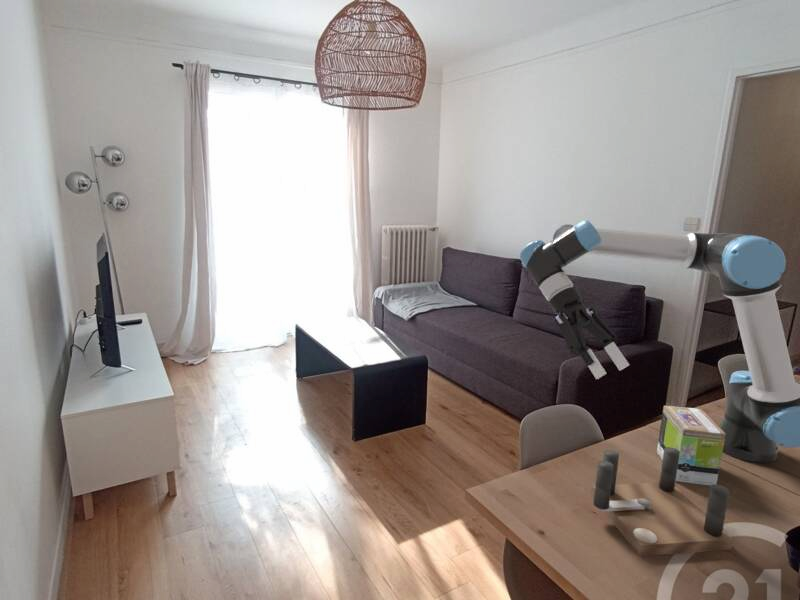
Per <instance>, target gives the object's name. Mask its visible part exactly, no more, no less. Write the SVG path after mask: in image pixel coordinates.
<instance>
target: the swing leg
mask: <svg viewBox="0 0 800 600" xmlns="http://www.w3.org/2000/svg"><path fill="white" fill-rule="evenodd" d="M596 466H597V467H596V476H595V485H594V486H595V494H594V498H593V506H595V508H597V509H598V510H600V512H601V513H602V512H604V513H605V511H622V510H639V509H642V510H649V509H651V505H650V502H649V501H648V500H646V499H644V498H639V499H635V500H617V501H610V494H611V486H612V477H613V468H614V465H613V464H612V463H610V462H608V461H603V460H599V461H598V462H597V465H596Z"/></svg>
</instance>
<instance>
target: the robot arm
mask: <svg viewBox="0 0 800 600" xmlns="http://www.w3.org/2000/svg"><path fill="white" fill-rule="evenodd" d="M519 253H520V254H519V259H520V261H521V263H522V264H523V266H524V267H525V269H526V271H527V272H528V274H529V276H530V278H531V279H532V280H533V281H534V283H535V284H536V286H537V288H539V290H540V291H541V293H542V295H543V296H544V298H545V299H546V301H547V302H548V304H549V306H550V307H551V309H552V311H553V312H554V314H556V315H557V316H555V317H554V318H553V320H554V322H555V324H556V325H557V326H558V329H559V331H560V332H561V335H562V337H563V339H564V341H565V343H566V345H567V348H568V350H569V352H570V353H571V354H573V355H574V356H575V357H578V356H580V357H581V359H582V361H583V362H584V364H585V365H586V366H587V368H589V370H590V372H591V374H592V375H593V376H594V378H595V380H599V379H600V378H602V377H603V376H605V375H606V374H607V372H606V370H605V368H604V367H603V366H602V364H601V363H600V361H599V359H598V357H597V356H596V355H595V353H594V352H593V350H592V349H591V348H588V347H587V344H586V343H587V342H586V340H585V336H584V333H583V330H587V332H588V333H591V335H592V336H594V337H595V338H596V339H597V340H598V341H599V342H600V343H602V345H604V347H603V348H604V350H605V352H606V354H608V356H609V358H610V359H611V360H612V362H613V363H614V365H615V366H616V367H617V369H618V371H622V370H624V369H625V368H627V367H630V363H629V362H628V360H627V359H626V357H625V356H624V354H623V353H622V351H621V350H620V348H619V346H618V345H617V344H616V343H615V342H616V341H617V340H618V336H617V335H616V333H615V332H614V331H613V330H612V328H610V326H609V325H608V324H607V323H606V322H605V320H603V319H602V318H601V316H600V315H599V314H598V313H597V312H596V310H595V307H593V306H590V307H588V308H586V307H585V306H583V305H582V301H583V297H582V295H581V294H580V292H579V291H578V290H577V288H576V287H574V283H573V282H572V280H571V278H569V276H568V275H567V274H566V272H565V271H564V270H563V268H565V267H566V266H568V265H569V264H571V263H572V262H574V261H576V260H577V259H579V258H581V257H583V256H584V255H593V256H605V257H614V258H622V259H630V260H641V261H642V260H644V261H652V262H661V263H671V264H679V265H680V266H681V267H682V268H683V269H684V268H685V269H692V270H698V271H701V272H705V273H708V274H711V275H713V276H715V277H718V279H719V283H720V287H721V291H722V295H723V297H724V296H725V298H728V299H730V300H731V301H732V306H733V309H734V313H735V318H736V321H737V326H738V331H739V334H740V339H741V342H742V347H743V351H744V354H745V358H746V363H747V368H748V370H738V371H737V370H736V371H734V372H732V373H731V375H730V379H729V382H728V389H727V390H728V391H727V396H726V403H725V409H724V414H723V415H724V416H723V418H722V421H721V422H720V424H719V425H718V426H719V427H720V428H721V430H723V432H724V433H725V441H724V446H723V451H722V453H725V454H727V455H729V456H731V457H734V458H737V459H740V460H744V461H747V462H752V463H753V462H754V463H773V462H774V461H776V460H777V457H778V454H779V448H778V446H777V445H779V446H780V447H784V448H799V447H800V383H798V382H796V380H795V376H794V371H793V366H792V362H791V358H790V353H789V349H788V346H787V341H786V336H785V331H784V327H783V324H782V319H781V316H780V311H779V310H780V309H779V306H778V301H777V297H776V293H777V291H779V289H780V288H781V287H782V282H781V277H782V274H783V273H784V272H785V270H786V264H787V262H786V261H787V260H786V259H787V258H786V256H785V254H784V251H783V250H782V248H781V247H780V246H779V245H778V244H777V243H776V242H774V241H772V240H770V239H769V238H768V239H767V238H766V237H763V236H759V235H755V234H754V235H753V234H752V235H751V234H741V233H735V232H717V233H716V232H715V233H711V232H709V233H705V232H703V233H702V232H701V233H699V232H698V233H697V232H688V233H687V234H686V235H680V234H678V235H677V234H671V233H670V234H667V233H658V232H657V233H655V232H649V231H648V232H646V231H645V232H644V231H637V230H636V231H634V230H626V229H625V230H624V229H613V228H602V227H595V226H594V225H593V223H591V221H589V219H588V220H587V219H584V220H581V221H580V222H579V223H576V224H574V225H573V224H564V225H560V226H559V227H557V228H556V229H555V231H554V232H553V234H552V240H550V241H549V242H547V243H546V242H544V241H543V240H542V239H537V240H534V241H532V242H531V241H530V242H529V243H528V244H526V245H525V246H524V247H523V248H522V249H521V250H520V252H519Z"/></svg>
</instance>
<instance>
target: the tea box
mask: <svg viewBox="0 0 800 600" xmlns="http://www.w3.org/2000/svg"><path fill="white" fill-rule="evenodd" d="M661 414H662V415H661V422H660V429H659V435H658V442H657V449H656V453H657V454H658V456H659V457H660V458H661V460H662V461H663V454H664V448H666V447H671V448H675V449H677V450H678V451H679V452H680V454H679V461H678V468H677V474H676V481H675V482H680V483H685V484H687V483H688V484H693V485H703V486H710V487H711V485H713V484H717V483H718V478H719V473H720V467H721V461H722V457H723V446H724V441H725V433H724V432H723V430H721V428H720V427H719V425H718V424H717V423H715V422H714V421H713V419H712V418H711V417H710V416H708V414H707V413H706V412H705V411H704V410H703V409H702V408H694V407H684V406H683V407H682V406H674V405H673V406H672V405H663V409H662V413H661ZM717 485H718V484H717Z"/></svg>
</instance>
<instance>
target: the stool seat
mask: <svg viewBox="0 0 800 600" xmlns="http://www.w3.org/2000/svg"><path fill="white" fill-rule="evenodd" d="M679 454H680V452H679V451H678V450H677V449H675V448H671V447H666V448H664V454H663V460H662V461H661V462H662V463H661V467H660V468H661V470H660V476H659V482H658V481H657V482H643V483H642V482H640V483H622V484H616V483H617V476H618V475H617V474H618V467H619V466H618V465H619V458H620V455H619V453H618V452H617V451H615V450H614V449H613V450H611V449H606V450H604V451H603V459H602V461H608V462H610V463H612V464H613V465H614V468H613V477H612V486H611V494H610V501H617V500H635V499H639V498H644V499H646V500H648V501H649V502H650V505H651V509H649V510H642V509H639V510H622V511H605V512H604V513H605V515H606V516H607V517H608V519H609V520H610V521H611V522H612V524H614V526H615V528H617V530H618V531H619V532H620V534H621V535H622V536H623V538H624V539H625V540H626V541H627V542H628V544H629V545H630V546H631V547H632V549H633V550H634V551H635V552H636V554H637V555H638V556H639V557H643V556H657V555H658V556H659V555H672V554H674V555H675V554H687V553H689V554H690V553H703V552H714V551H715V552H716V551H717V552H718V551H731V550H732V548H733V542H734V539H733V538H732V536H730V535H729V534H728V533H727V532H726V531H725V530H724V526H725V525H724V524H725V520H726V519H725V518H726V514H727V508H728V502H729V496H730V490H729V489H728V488H727V487H725V486H724V485H721V484H713V485H711V486H710V487H709V488H710V489H709V494H708V500H707V506H706V507H707V508H706V513H705V512H704V511H703V510H701V508H699V507H698V506H697V505H696V504H695V503H694V502H693V501H691V500H690V498H688V497H687V495H685V494H683V492H681V491H680V490H679V489H678V488H677V487H676V482H677V481H676V474H677V468H678V461H679ZM594 494H595V485H592V486H591V492H590V496H591V497H592V499H594Z"/></svg>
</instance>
